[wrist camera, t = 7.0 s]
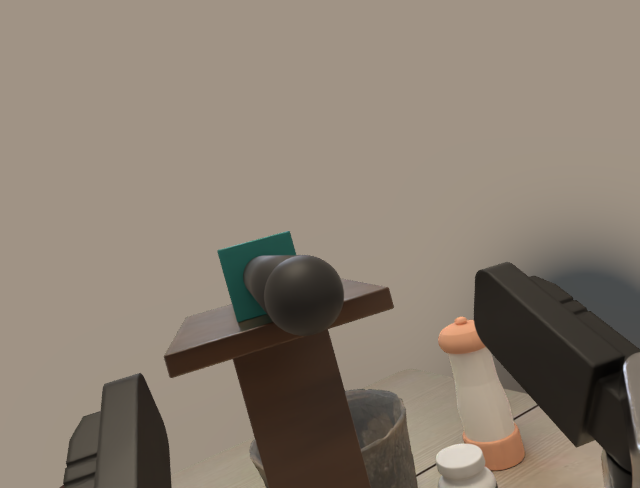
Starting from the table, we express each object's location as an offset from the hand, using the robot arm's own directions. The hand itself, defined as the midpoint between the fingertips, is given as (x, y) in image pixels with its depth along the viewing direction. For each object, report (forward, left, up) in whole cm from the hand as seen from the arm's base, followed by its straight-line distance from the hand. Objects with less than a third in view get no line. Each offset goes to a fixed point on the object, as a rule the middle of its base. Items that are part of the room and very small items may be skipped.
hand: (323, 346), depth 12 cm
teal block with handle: (+9, +6, -1) cm, 11 cm away
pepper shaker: (+56, +8, -33) cm, 66 cm away
